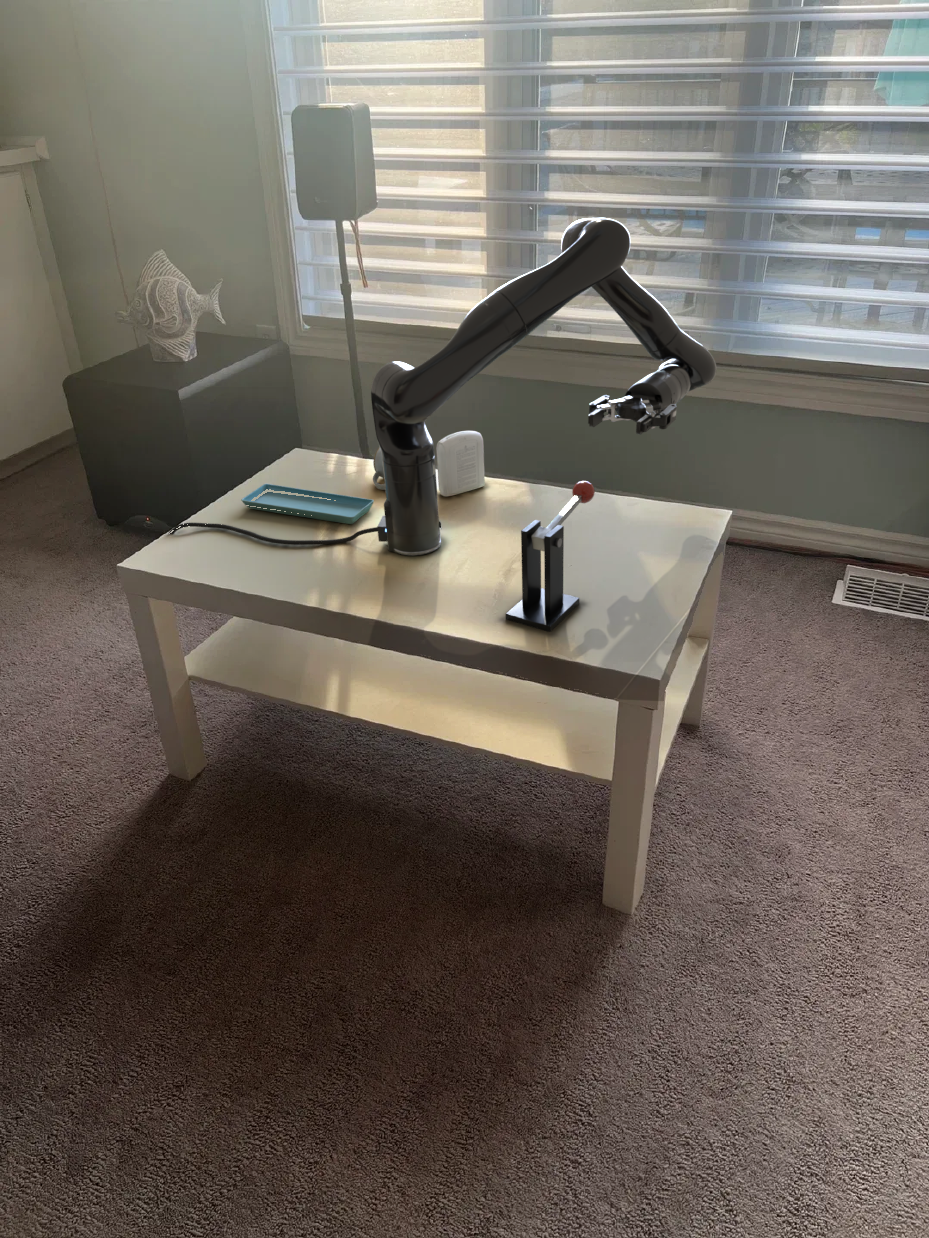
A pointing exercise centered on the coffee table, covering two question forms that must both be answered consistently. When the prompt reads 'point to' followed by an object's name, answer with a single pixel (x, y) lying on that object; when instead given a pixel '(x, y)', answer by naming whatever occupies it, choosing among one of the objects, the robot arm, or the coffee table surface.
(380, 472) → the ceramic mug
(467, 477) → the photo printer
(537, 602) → the black lever stand
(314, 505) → the shallow long dish
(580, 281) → the robot arm
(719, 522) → the coffee table surface
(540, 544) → the red knobbed lever
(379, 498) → the coffee table surface
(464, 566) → the coffee table surface
